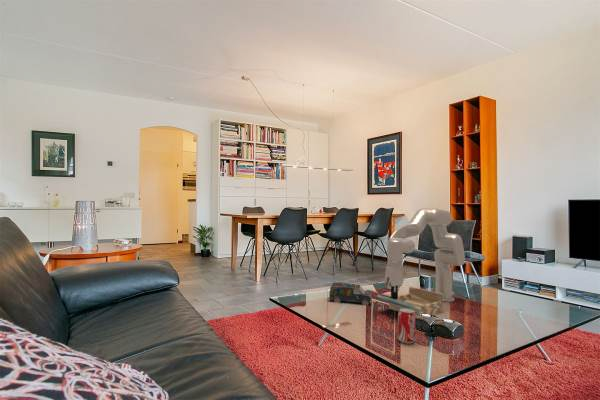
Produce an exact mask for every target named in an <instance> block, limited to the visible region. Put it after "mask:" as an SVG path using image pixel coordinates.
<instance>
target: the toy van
mask: <svg viewBox="0 0 600 400" xmlns="http://www.w3.org/2000/svg"><path fill="white" fill-rule="evenodd" d="M328 293H329V296H328V300H329V301H331V300H332V301H333V303H336V302H338V303H337V304H339V303H342V302H351V303H361V304H362V305H363V306H369V304H371V303H372V299H373V298H372V292H371V290H365V289H364V288H362V286H361V285H360V284H355V283H348V282H332V284H331V285H330V288H329V292H328Z"/></svg>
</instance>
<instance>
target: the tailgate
mask: <svg viewBox="0 0 600 400" xmlns="http://www.w3.org/2000/svg"><path fill="white" fill-rule="evenodd" d="M376 297H377V298H379V299H381V300H383V301H384V302H387V303H388V304H389V303H391V304H394V305H398V306H401V307H404V308H409V309H413V310H414V311H418V312H420V309H418V308H416V307H414V306H412V305H411V304H409V303H406V302H402V301H399V300H395V299H392V298H391V297H388V296H384V295H381V294H377V296H376Z"/></svg>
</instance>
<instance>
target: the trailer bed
mask: <svg viewBox="0 0 600 400" xmlns="http://www.w3.org/2000/svg"><path fill="white" fill-rule="evenodd" d="M408 290H409V291H408V293H405V294H402V295H398V299H396V300H399V301H402V302H406V303H409V304H411V305H412V306H414V307H416V308H418V309H420V312H418V311H415V315H416V314H430V315H432V316H434V315H437V314H441V313H443V301H442V298H443V294H441V293H437V292H435V291H433V290H428V289H424V288H419V287H414V286H409V287H408ZM400 308H404V307H401V306H398V305H394V304H391V303H389V302H388V309H389V310H392V311H395V312H399V311H400V310H399V309H400Z"/></svg>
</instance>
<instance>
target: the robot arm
mask: <svg viewBox="0 0 600 400" xmlns="http://www.w3.org/2000/svg"><path fill="white" fill-rule="evenodd" d="M452 218H453V216H452V214H451V213H450V212H449V211H448V210H443V209H438V208H419V209H418V210H417V211H416V212H415V213H414V215H413V216H412V217H411V219H410V221H409V222H408V223H407V224H405V225H403V226H401V227H400V228H398V229H396V230H395V231H394V232H393V233H392V234H391V236H390V237H389V239H388V240H387V262H386V263H387V265H386V267H385V273H384V285H385V286H386V288H387V289H388V290H389V291H390V298H392V299H395V300H396V299H398V296H399V292H400V288H402V286H403V284H404V267H403V261H404V260H403V255H404V254H411V253H413V252H414V251H415V249H416V244H415V241H414V240H412V239H410V238H412V237H416V236H419V235H421V234H422V233H423V231H424V230H425V228H426V227H427V225H429V227H430V229H431V231H432V237H433V242H434V245H435V247H436V248H438V249H436V250H435V251H434V254H433V256H434V263H435V288H434V289H435V291H434V292H437V293H441V294H443V298H442V302H448V303H449V302H450V303H451V302H455V297H453V296H454V295H455V292H454V291H453V270H452V267H450V266H456V267H457V266H458V267H461V266H464V264H465V261H466V258H465V257H466V256H465V251H464V250H465V249H464V243H463V239H462V237H461V236H460V235H459V234H457V233H451V232H450V233H449V232H448V229H447V226H449V225H450V224H451V222H452V221H453V219H452ZM408 238H409V239H408Z"/></svg>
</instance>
